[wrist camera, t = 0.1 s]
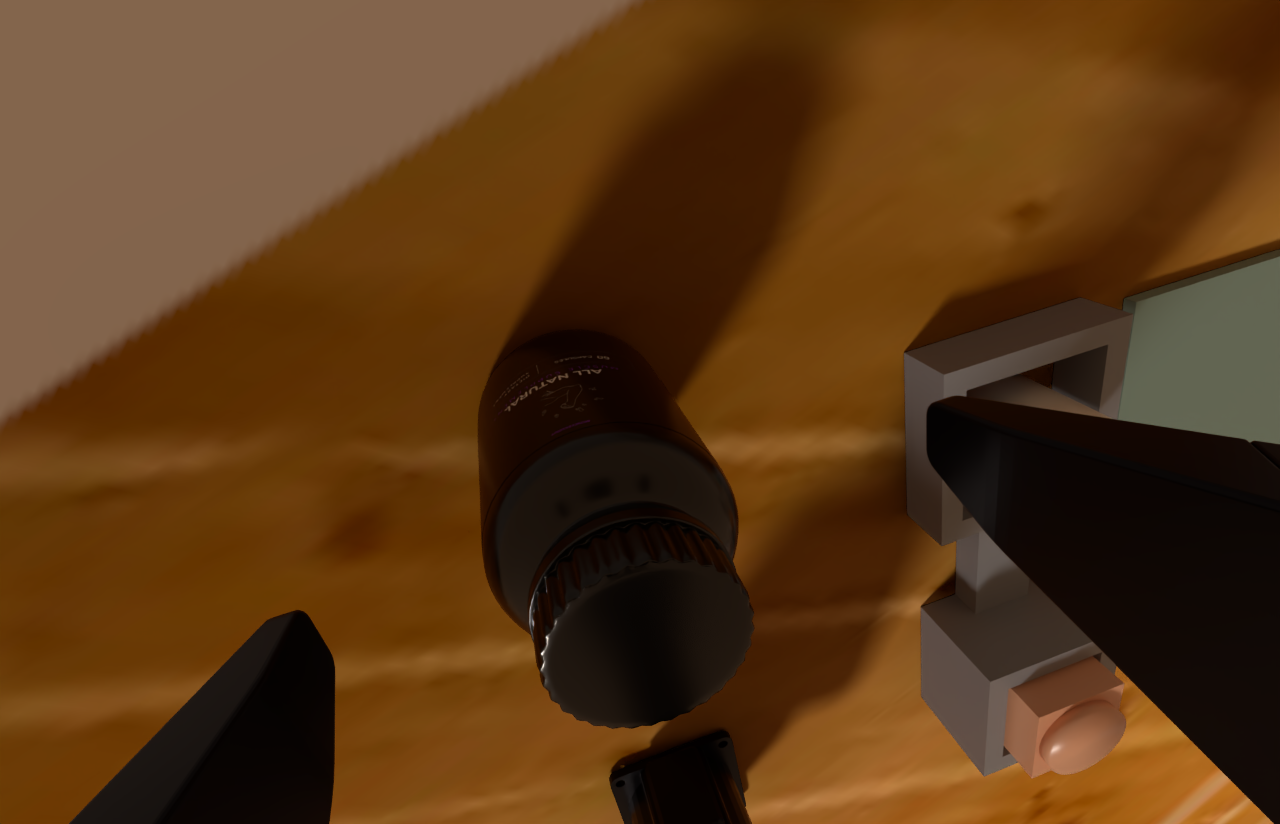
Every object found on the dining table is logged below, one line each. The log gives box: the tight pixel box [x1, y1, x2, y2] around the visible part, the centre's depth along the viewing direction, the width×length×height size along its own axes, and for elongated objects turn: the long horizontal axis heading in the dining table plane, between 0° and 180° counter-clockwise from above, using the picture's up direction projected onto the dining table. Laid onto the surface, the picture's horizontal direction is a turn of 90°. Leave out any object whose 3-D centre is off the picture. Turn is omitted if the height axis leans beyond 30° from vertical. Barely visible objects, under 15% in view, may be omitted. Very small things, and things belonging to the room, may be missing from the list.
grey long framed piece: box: [904, 297, 1133, 776], centre depth 30 cm, size 22×8×5 cm, turn 12°
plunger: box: [1004, 656, 1126, 778], centre depth 32 cm, size 4×4×6 cm
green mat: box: [1117, 249, 1280, 444], centre depth 32 cm, size 13×13×1 cm
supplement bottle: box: [478, 330, 754, 729], centre depth 19 cm, size 7×7×12 cm
